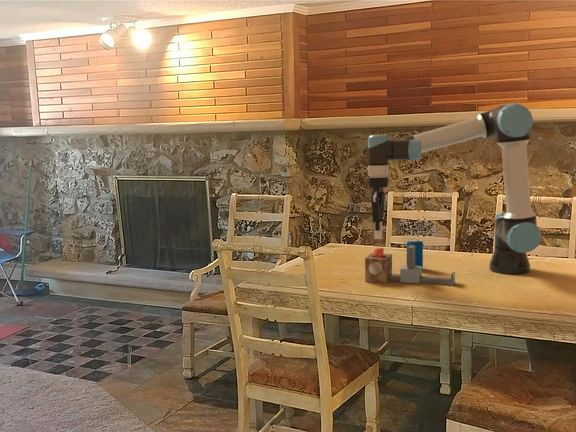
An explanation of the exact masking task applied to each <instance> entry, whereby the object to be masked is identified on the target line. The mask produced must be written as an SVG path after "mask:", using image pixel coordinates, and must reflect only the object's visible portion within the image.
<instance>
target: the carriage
mask: <svg viewBox="0 0 576 432" xmlns="http://www.w3.org/2000/svg"><path fill="white" fill-rule="evenodd" d="M399 271H400V273H399V274H400V283H407V284H408V283H411V284H421V283H420V276H423V268H422V266H415V245H410V246H409V247H408V248H407V247H406V264H404V265H402V266H401V267H400V269H399Z"/></svg>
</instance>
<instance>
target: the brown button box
mask: <svg viewBox="0 0 576 432" xmlns="http://www.w3.org/2000/svg"><path fill="white" fill-rule="evenodd" d="M383 256H384V258H378V257H374V252H371V253H370V254H369V255H367V256H366V257H365V258H364V267H365V268H364V269H365V274H364V276H365V278H364V280H365V283H379V284H380V283H381V284H387V283H388V282H389V281H388V276H389V274H393V254H392V253H383Z"/></svg>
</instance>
